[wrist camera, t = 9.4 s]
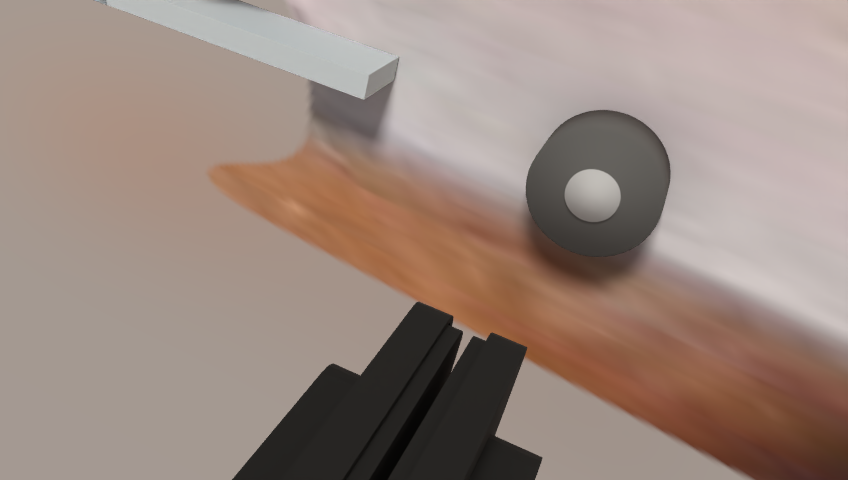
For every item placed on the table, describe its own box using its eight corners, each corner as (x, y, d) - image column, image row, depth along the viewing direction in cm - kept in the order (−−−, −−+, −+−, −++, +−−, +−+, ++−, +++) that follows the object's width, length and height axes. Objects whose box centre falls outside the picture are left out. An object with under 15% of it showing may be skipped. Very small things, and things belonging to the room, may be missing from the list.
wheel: (691, 136, 36) (685, 159, 33) (642, 249, 39) (634, 278, 36) (562, 91, 37) (547, 110, 34) (525, 204, 40) (508, 229, 37)
